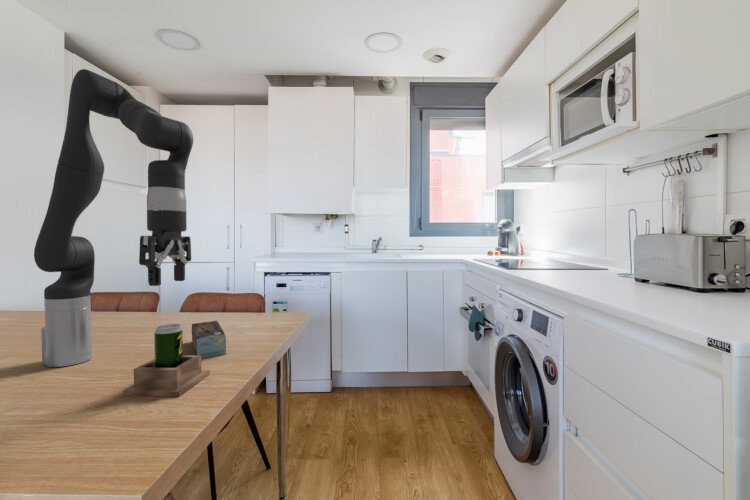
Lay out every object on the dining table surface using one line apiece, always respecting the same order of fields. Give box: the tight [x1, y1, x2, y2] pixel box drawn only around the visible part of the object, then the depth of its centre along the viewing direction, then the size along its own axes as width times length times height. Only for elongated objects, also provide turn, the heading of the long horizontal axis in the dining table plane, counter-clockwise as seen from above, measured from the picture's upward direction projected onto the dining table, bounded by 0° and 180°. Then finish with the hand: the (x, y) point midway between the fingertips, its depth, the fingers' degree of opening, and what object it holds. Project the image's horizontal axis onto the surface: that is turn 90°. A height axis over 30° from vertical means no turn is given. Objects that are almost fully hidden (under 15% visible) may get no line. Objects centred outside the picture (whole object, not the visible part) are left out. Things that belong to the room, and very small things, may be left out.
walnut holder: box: [122, 354, 211, 398], centre depth 79 cm, size 12×12×5 cm
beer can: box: [153, 323, 184, 368], centre depth 79 cm, size 5×5×12 cm
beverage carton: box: [191, 320, 227, 359], centre depth 106 cm, size 8×19×7 cm, turn 30°
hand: (167, 283), depth 79 cm, fingers open, 8 cm apart
